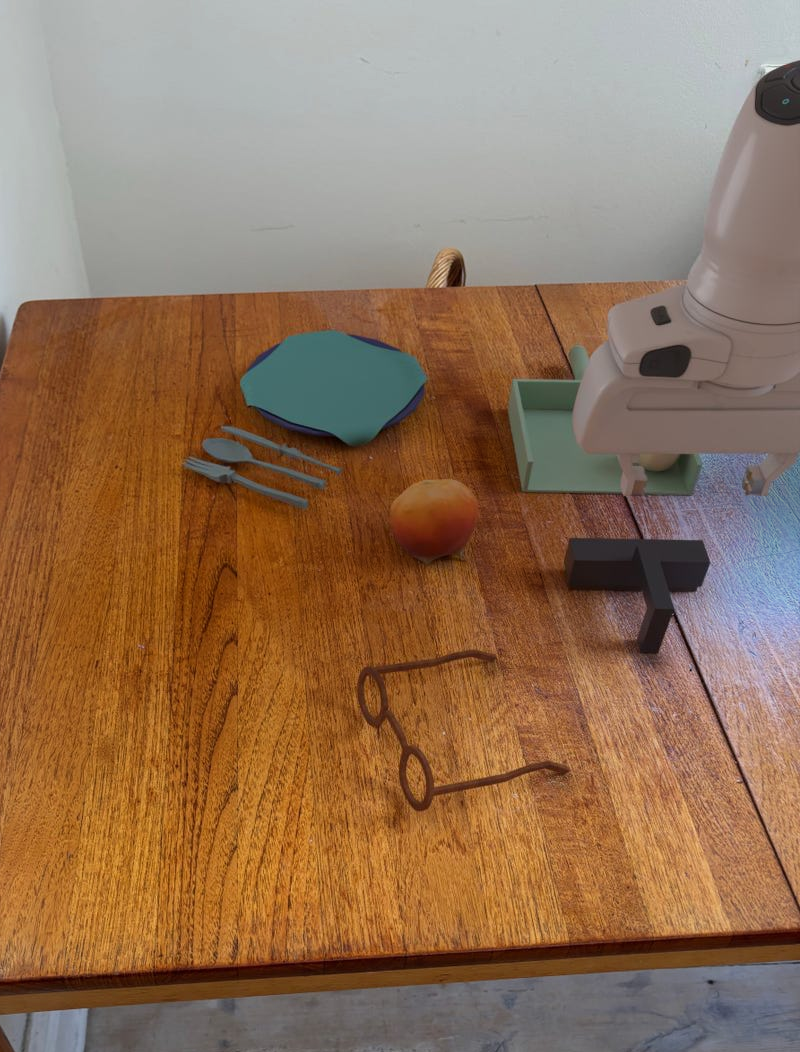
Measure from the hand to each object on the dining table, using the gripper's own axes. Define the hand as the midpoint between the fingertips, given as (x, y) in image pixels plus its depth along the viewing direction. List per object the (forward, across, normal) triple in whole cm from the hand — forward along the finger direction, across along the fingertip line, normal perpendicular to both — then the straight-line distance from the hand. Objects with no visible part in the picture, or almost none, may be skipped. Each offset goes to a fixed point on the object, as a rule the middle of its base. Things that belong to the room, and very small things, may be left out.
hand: (692, 491), depth 81 cm
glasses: (+15, +18, +13) cm, 26 cm away
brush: (+15, +1, -2) cm, 15 cm away
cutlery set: (+14, +30, -30) cm, 45 cm away
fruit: (+15, +19, -10) cm, 26 cm away
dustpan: (+15, 0, -30) cm, 34 cm away
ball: (+12, -3, -23) cm, 26 cm away
